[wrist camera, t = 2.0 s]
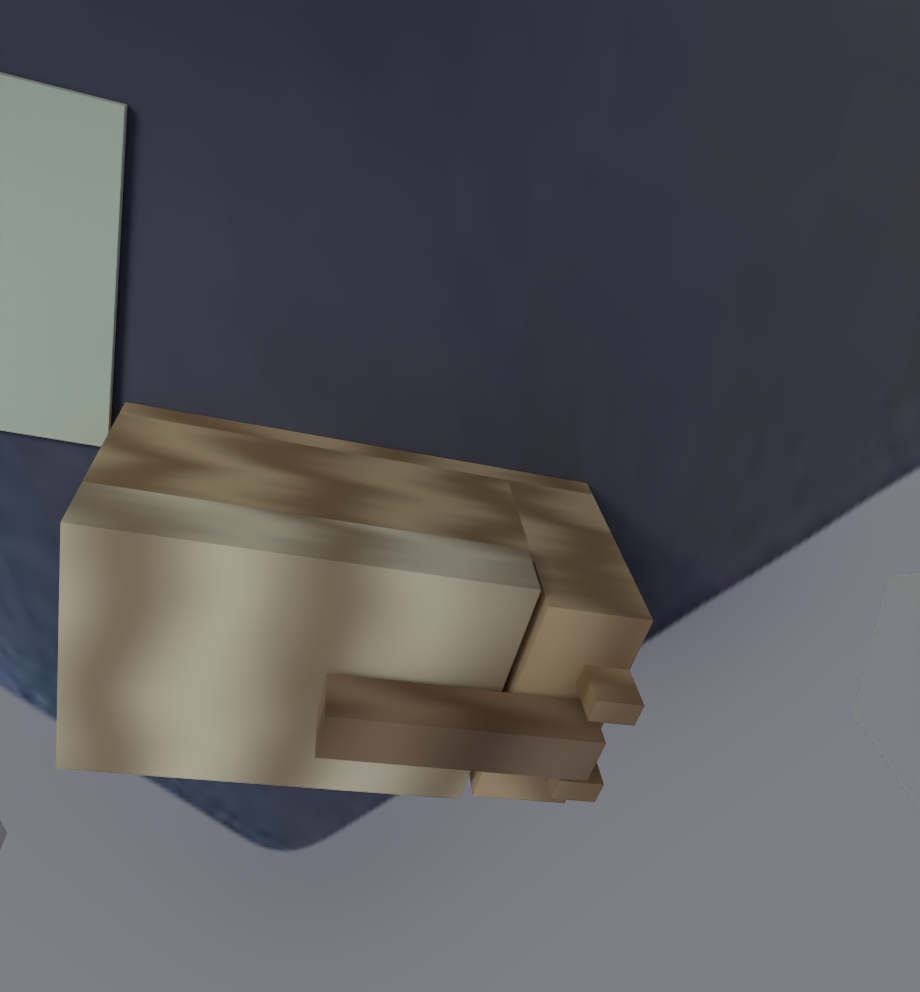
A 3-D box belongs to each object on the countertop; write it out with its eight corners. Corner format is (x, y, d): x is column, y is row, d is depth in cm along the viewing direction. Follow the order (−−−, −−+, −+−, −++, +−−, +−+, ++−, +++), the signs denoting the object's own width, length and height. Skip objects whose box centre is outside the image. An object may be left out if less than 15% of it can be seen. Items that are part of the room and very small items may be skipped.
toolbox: (113, 595, 37) (32, 805, 28) (125, 402, 32) (31, 575, 23) (523, 646, 42) (574, 841, 32) (587, 483, 37) (670, 655, 27)
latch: (316, 713, 29) (314, 757, 28) (326, 673, 28) (325, 716, 27) (574, 738, 32) (587, 780, 30) (591, 701, 31) (605, 743, 29)
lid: (83, 696, 33) (55, 768, 30) (92, 463, 27) (60, 522, 24) (450, 731, 36) (459, 799, 33) (522, 531, 31) (541, 590, 28)
